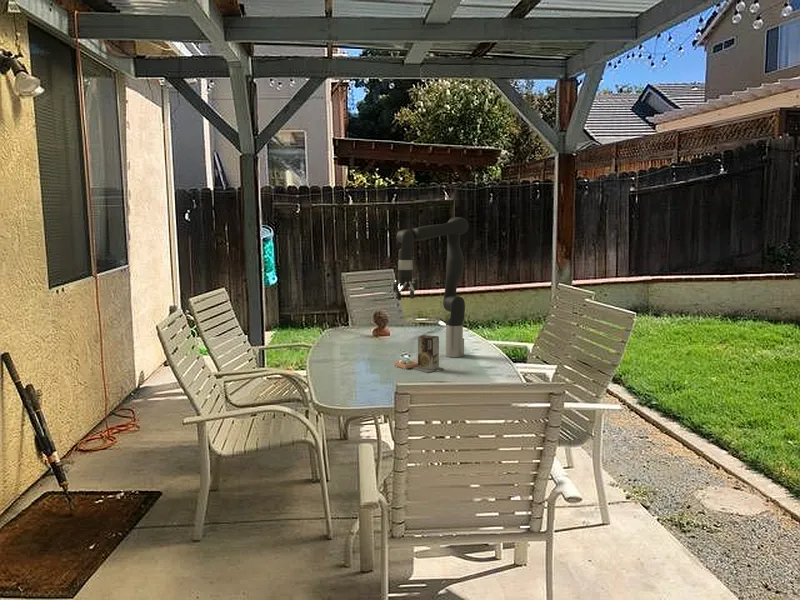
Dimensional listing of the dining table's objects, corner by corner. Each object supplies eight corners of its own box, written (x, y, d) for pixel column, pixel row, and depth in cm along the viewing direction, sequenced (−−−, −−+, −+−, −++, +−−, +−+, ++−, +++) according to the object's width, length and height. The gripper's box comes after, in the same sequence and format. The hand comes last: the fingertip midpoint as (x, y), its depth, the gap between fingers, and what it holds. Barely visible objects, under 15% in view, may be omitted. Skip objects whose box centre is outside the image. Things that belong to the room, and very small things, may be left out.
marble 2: (407, 363, 356) (407, 357, 356) (411, 364, 354) (411, 358, 353) (403, 364, 354) (403, 358, 354) (406, 365, 352) (406, 359, 351)
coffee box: (439, 367, 346) (439, 336, 344) (433, 370, 341) (433, 338, 339) (423, 365, 351) (423, 334, 349) (417, 368, 346) (417, 336, 344)
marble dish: (408, 363, 358) (408, 359, 358) (419, 366, 351) (419, 362, 350) (394, 366, 352) (394, 362, 352) (405, 369, 345) (405, 365, 345)
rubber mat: (428, 365, 354) (428, 364, 354) (444, 369, 345) (444, 368, 345) (412, 368, 347) (412, 367, 347) (427, 372, 338) (427, 371, 338)
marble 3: (409, 365, 352) (409, 359, 352) (412, 366, 350) (412, 360, 350) (404, 365, 350) (404, 360, 350) (408, 367, 348) (408, 361, 348)
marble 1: (402, 364, 354) (402, 358, 353) (406, 365, 351) (406, 359, 351) (397, 365, 352) (397, 359, 352) (401, 366, 350) (401, 360, 349)
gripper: (411, 267, 365) (411, 297, 368) (390, 268, 356) (390, 299, 359) (420, 268, 359) (420, 298, 362) (399, 269, 351) (399, 301, 353)
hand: (405, 299), depth 360 cm, fingers open, 8 cm apart
